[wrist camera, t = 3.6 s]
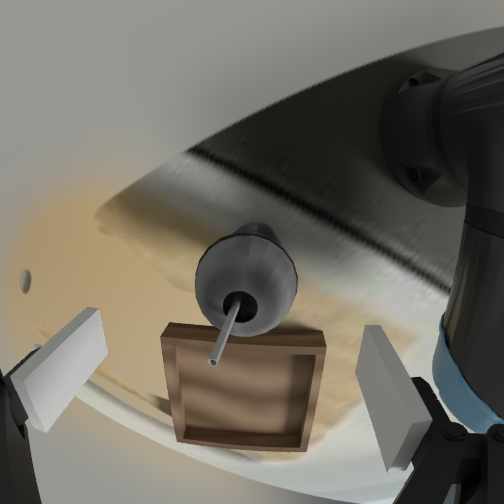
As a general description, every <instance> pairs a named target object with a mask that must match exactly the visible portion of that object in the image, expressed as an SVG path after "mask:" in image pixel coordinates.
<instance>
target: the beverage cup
mask: <svg viewBox="0 0 504 504" xmlns="http://www.w3.org/2000/svg"><path fill="white" fill-rule="evenodd" d="M195 276H196V278H195V293H196V299H197V302H198V304H199V307H200V309H201V311H202V313H203V315H204V316H205V317H206V318H207V319H208V321H209V322H210V323H211V324H212V325H214V326H215V327H217V328H218V329H220V330H221V332H220V334H219V336H218V339H217V341H216V344H215V346H214V348H213V351H212V353H211V355H210V358H209V360H208V363H209V365H211V366H217V364H218V361H219V359H220V356H221V354H222V351H223V349H224V346H225V343H226V341H227V338H228V336H229V334H231V335H234V336H243V337H251V336H255V335H259V334H263V333H266V332H267V331H269V330H271V329H272V328H274V327H276V326H277V325H278V324H279V323H280V322H281V321H282V320H283V319H284V317H285V316H286V315H287V314H288V313H289V310H290V308H291V306H292V303H293V301H294V298H295V296H296V293H297V283H298V276H297V272H296V269H295V266H294V262H293V260H292V259H291V258H290V256H289V255H288V254H287V252H286V251H285V249H284V248H283V247H281V245H280V243H279V240H278V238H277V236H276V235H275V233H274V232H273V231H272V229H271V228H269V227H268V226H267V225H265V224H262V223H249V224H246V225H244V226H242V227H241V228H240V229H238V230H237V231H236V232H234V233H233V234H232V235H229V236H226V237H222V238H220V239H219V240H218V241H216V242H215V243H213V244H212V245H211V246H209V247H208V248H207V250H206V251H205V253H204V254H203V256H202V257H201V258H200V260H199V263H198V267H197V271H196V274H195Z"/></svg>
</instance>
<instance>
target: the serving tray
mask: <svg viewBox="0 0 504 504" xmlns="http://www.w3.org/2000/svg"><path fill="white" fill-rule="evenodd" d="M220 332H221V330H220V329H218V328H217V327H215V326H204V325H193V324H182V323H172V322H169V324H168V326H167V327H166V328H165V330H164V332H163V333H162V335H161V337H160V338H161V347H162V354H163V362H164V369H165V376H166V382H167V389H168V395H169V401H170V407H171V412H172V418H173V423H174V429H175V434H176V439H177V442H181V443H188V444H195V445H202V446H210V447H219V448H228V449H240V450H253V451H274V452H306V451H307V447H308V443H309V438H310V433H311V429H312V424H313V419H314V415H315V410H316V405H317V399H318V394H319V389H320V383H321V378H322V372H323V366H324V360H325V354H326V348H327V347H326V343H325V339H324V335H323V331H293V330H269V331H267V332H266V333H263V334H259V335H255V336H251V337H243V336H234V335H231V334H229V336H228V338H227V341H226V343H225V346H224V349H223V351H222V354H221V356H220V359H219V361H218V364H217V366H211V365H209V363H208V360H209V358H210V355H211V353H212V351H213V348H214V346H215V344H216V341H217V339H218V336H219V334H220Z"/></svg>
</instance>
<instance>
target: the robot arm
mask: <svg viewBox="0 0 504 504" xmlns="http://www.w3.org/2000/svg"><path fill="white" fill-rule="evenodd" d="M380 128H381V140H382V146H383V150H384V153H385V156H386V159H387V161H388V164H389V166H390V168H391V170H392V171H393V173H394V174H395V176H396V178H397V179H398V180H399V181H400V183H401V184H402V185H403V186H404V187H405V188H406V189H407V190H408V191H409V192H411V193H412V194H413V195H415V196H416V197H418V198H419V199H421V200H423V201H426V202H429V203H432V204H435V205H438V206H443V207H461V206H465V205H466V212H465V219H464V224H463V231H462V238H461V245H460V251H459V257H458V262H457V267H456V271H455V276H454V280H453V284H452V289H451V293H450V297H449V301H448V304H447V308H446V311H445V313H444V314H443V315H442V317H441V320H440V325H439V331H440V334H439V338H438V342H437V346H436V349H435V353H434V356H433V362H432V373H433V379H434V383H435V385H436V387H437V388H438V390H439V395H440V397H441V399H442V401H443V403H444V404H445V405H446V407H447V408H448V409H449V411H450V412H451V413H452V414H453V415H454V416H455V417H456V418H457V419H458V420H459V421H460V422H461V423H463V424H464V425H465V426H467V427H468V428H469V429H471V430H473V431H474V432H476V433H468V431H467V429H466V428H465V427H464V426H463V425H461V424H459V423H456V422H451V421H450V419H449V417H448V415H447V414H446V412H445V410H444V408H443V407H442V405H441V403H440V402H439V400H437V396H436V395H435V393H433V392H434V391H433V390H432V388H431V386H430V385H429V383H428V382H426V381H425V380H424V379H423V378H421V377H412V378H410V376H409V375H408V373H407V371H406V369H405V367H404V366H403V364H402V362H401V360H400V359H399V357H398V355H397V353H396V352H395V350H394V348H393V346H392V345H391V343H390V341H389V339H388V338H387V336H386V334H385V333H384V331H383V329H382V328H381V326H380V325H365V328H364V333H363V338H362V343H361V348H360V353H359V357H358V362H357V366H356V371H355V373H356V376H357V379H358V382H359V385H360V388H361V391H362V394H363V397H364V400H365V403H366V406H367V409H368V412H369V415H370V418H371V421H372V425H373V428H374V431H375V434H376V437H377V441H378V444H379V447H380V451H381V454H382V457H383V461H384V464H385V468H386V471H387V473H391V472H398V471H403V470H406V469H407V467H408V466H409V464H410V462H411V461H412V464H413V466H414V470H413V471H412V473H411V475H410V476H409V478H408V479H407V481H406V482H405V485H404V486H403V488H402V490H401V491H400V493H399V494H398V496H397V498H396V499H395V501H394V502H393V504H443V502H444V500H445V498H446V496H447V494H448V491H449V489H450V487H451V485H452V484H456V493H455V500H454V504H504V52H502V53H499V54H497V55H494V56H492V57H490V58H487V59H485V60H483V61H480V62H478V63H476V64H473V65H471V66H469V67H467V68H464V69H462V70H460V71H456V70H449V69H441V68H429V69H424V70H420V71H417V72H415V73H413V74H411V75H409V76H408V77H406V78H404V79H403V80H401V81H400V82H399V83H398V84H397V85H396V86H395V87H394V88H393V89H392V91H391V92H390V94H389V95H388V97H387V99H386V101H385V104H384V107H383V111H382V116H381V126H380ZM107 354H108V351H107V346H106V342H105V337H104V332H103V327H102V321H101V316H100V311H99V309H98V308H91V307H87V308H86V309H85V310H83V311H82V312H81V313H80V314H79V315H77V317H75V318H74V319H73V320H72V321H71V322H69V323H68V324H67V325H66V326H65V327H64V328H62V329H61V330H60V331H59V332H58V333H57V334H56V335H54V336H53V337H52V338H51V339H50V340H49V341H48V342H47V343H46V344H44V345H43V346H42V347H40V348H38V349H36V350H34V351H32V352H30V353H29V354H28V355H27V356H26V357H25V359H23V360H21V362H20V364H19V363H18V364H17V365H16V366H15V367H14V368H13V369H12V370H11V371H10V372H8V373H7V375H5V376H4V377H3V375H2V372H1V370H0V504H42V503H41V499H40V495H39V491H38V487H37V483H36V478H35V473H34V468H33V462H32V457H31V451H30V444H29V439H28V430H27V427H26V424H25V421H26V420H27V419H28V418H29V420H30V422H31V424H32V426H33V428H36V429H38V430H41V431H43V432H45V433H47V432H48V430H49V429H50V428H51V426H52V425H53V424H54V422H55V421H56V420H57V418H58V417H59V416H60V414H61V413H62V412H63V410H64V409H65V408H66V406H67V405H68V404H69V403H70V401H71V400H72V399H73V397H74V396H75V395H76V393H77V392H78V391H79V390H80V388H81V387H82V386H83V384H84V383H85V382H86V381H87V379H88V378H89V377H90V375H91V374H92V373H93V372H94V370H95V369H96V368H97V367H98V365H99V364H100V363H101V362H102V360H103V359H104V358H105V357H106V355H107Z"/></svg>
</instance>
